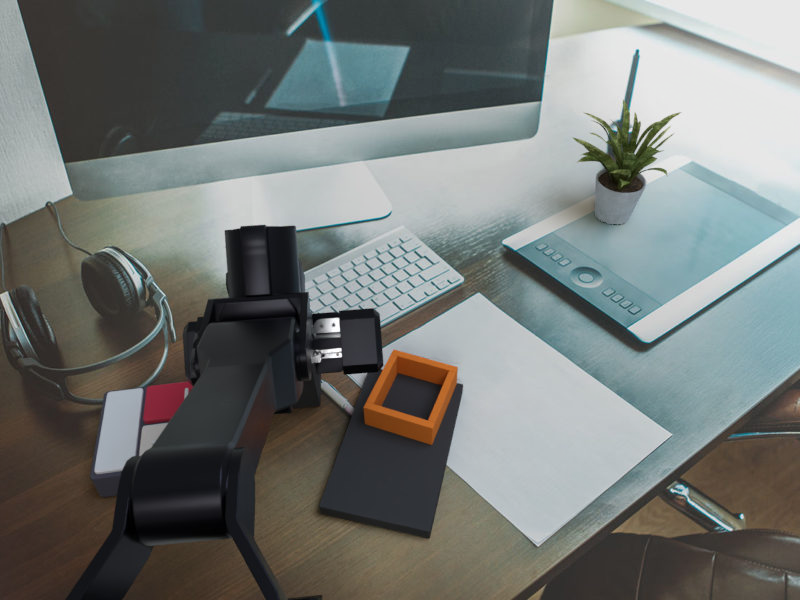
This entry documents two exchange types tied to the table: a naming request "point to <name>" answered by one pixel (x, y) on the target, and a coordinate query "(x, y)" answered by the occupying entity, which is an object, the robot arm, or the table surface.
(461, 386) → the base pad
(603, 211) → the house plant
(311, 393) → the dark gray block
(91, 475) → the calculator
